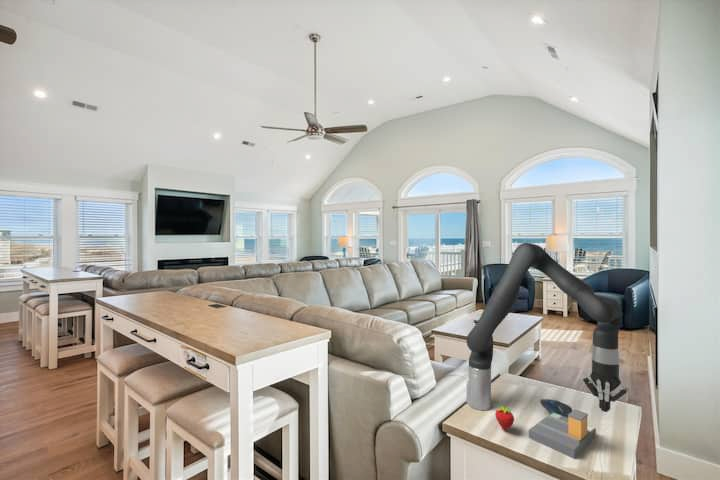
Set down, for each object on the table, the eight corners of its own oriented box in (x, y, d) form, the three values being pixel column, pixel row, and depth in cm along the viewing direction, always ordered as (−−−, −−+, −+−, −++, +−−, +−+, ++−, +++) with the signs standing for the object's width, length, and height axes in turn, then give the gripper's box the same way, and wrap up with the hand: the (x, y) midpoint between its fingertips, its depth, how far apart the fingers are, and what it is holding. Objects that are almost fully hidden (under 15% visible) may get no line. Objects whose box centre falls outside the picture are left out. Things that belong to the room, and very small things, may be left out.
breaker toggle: (567, 435, 124) (568, 414, 124) (574, 428, 128) (575, 409, 128) (581, 440, 121) (581, 419, 121) (587, 434, 125) (588, 413, 125)
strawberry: (504, 437, 128) (505, 410, 128) (491, 426, 136) (491, 400, 135) (518, 434, 130) (518, 408, 130) (504, 424, 137) (504, 398, 137)
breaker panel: (528, 437, 128) (528, 427, 128) (552, 419, 141) (552, 410, 141) (574, 458, 116) (574, 447, 116) (595, 436, 129) (595, 426, 129)
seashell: (577, 412, 141) (560, 389, 149) (558, 417, 139) (541, 394, 147) (571, 420, 145) (555, 398, 153) (552, 425, 143) (537, 402, 151)
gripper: (578, 356, 121) (578, 406, 121) (625, 368, 110) (625, 422, 111) (587, 352, 125) (586, 400, 126) (632, 362, 115) (632, 415, 115)
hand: (604, 410), depth 118 cm, fingers closed
